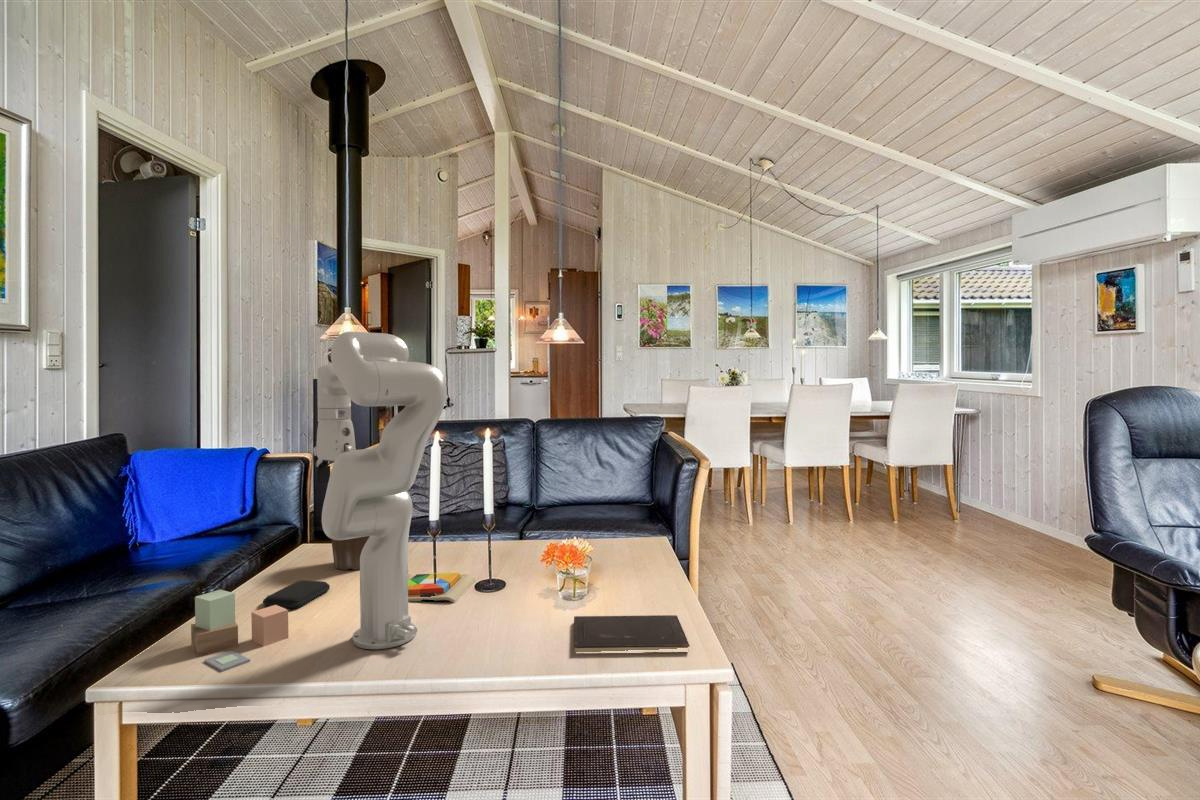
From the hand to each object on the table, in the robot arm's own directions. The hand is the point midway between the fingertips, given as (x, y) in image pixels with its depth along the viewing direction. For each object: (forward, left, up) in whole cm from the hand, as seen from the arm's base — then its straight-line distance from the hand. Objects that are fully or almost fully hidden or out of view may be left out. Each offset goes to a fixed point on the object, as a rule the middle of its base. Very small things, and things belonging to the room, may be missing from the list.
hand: (335, 484), depth 150 cm
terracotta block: (-11, +22, -28) cm, 38 cm away
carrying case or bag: (+7, +6, -29) cm, 30 cm away
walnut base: (-5, +30, -29) cm, 42 cm away
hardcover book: (-72, -21, -29) cm, 81 cm away
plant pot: (+20, -19, -28) cm, 40 cm away
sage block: (-5, +30, -24) cm, 39 cm away
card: (-14, +32, -28) cm, 45 cm away
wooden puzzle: (-15, -17, -29) cm, 37 cm away
